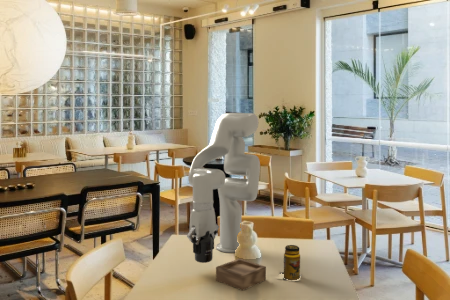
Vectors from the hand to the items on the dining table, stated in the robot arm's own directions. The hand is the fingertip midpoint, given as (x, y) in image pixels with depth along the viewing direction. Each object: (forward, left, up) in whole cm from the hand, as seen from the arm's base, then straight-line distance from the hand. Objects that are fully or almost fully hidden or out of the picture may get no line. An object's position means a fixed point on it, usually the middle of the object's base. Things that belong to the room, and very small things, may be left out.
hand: (203, 250), depth 188 cm
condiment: (-19, +26, -9) cm, 34 cm away
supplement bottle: (0, 0, -4) cm, 4 cm away
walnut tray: (-4, +15, -9) cm, 18 cm away
